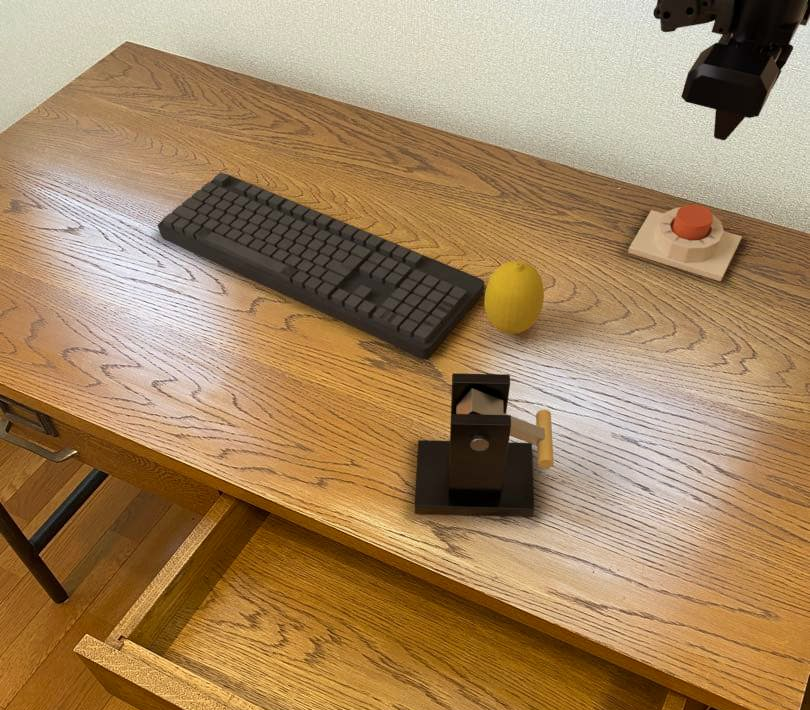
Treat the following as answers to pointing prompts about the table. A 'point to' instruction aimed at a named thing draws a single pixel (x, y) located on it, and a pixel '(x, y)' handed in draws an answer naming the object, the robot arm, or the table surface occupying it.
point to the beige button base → (685, 246)
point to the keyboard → (325, 263)
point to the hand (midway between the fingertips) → (720, 137)
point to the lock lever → (514, 423)
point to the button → (692, 222)
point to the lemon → (514, 297)
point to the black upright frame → (476, 460)
